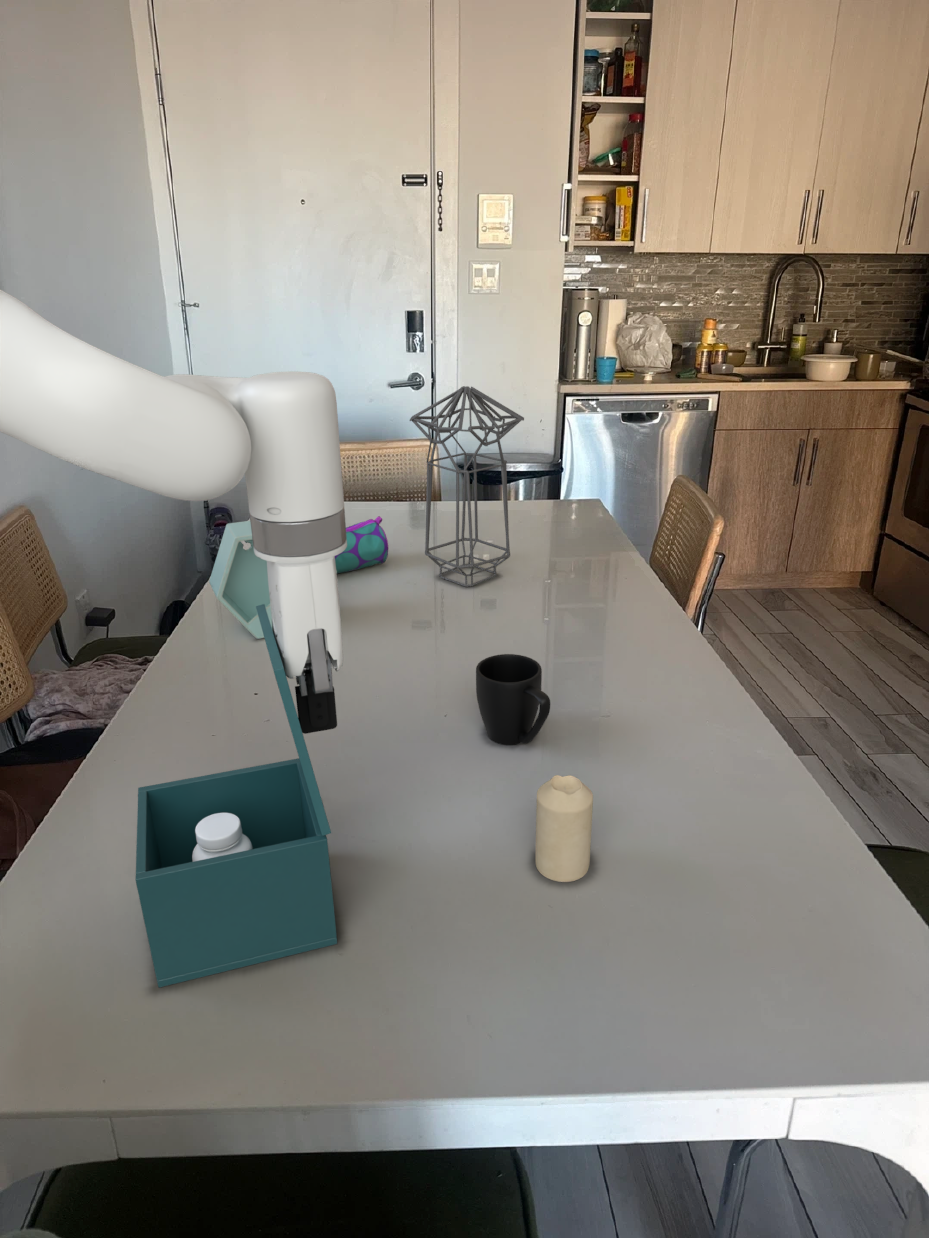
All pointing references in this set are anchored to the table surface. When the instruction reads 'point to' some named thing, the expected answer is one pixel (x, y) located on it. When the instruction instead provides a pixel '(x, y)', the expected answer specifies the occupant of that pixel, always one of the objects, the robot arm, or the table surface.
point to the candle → (563, 828)
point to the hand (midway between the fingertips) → (318, 726)
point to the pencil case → (363, 546)
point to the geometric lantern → (466, 472)
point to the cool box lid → (293, 719)
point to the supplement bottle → (219, 837)
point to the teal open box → (232, 873)
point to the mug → (511, 698)
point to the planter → (241, 578)
